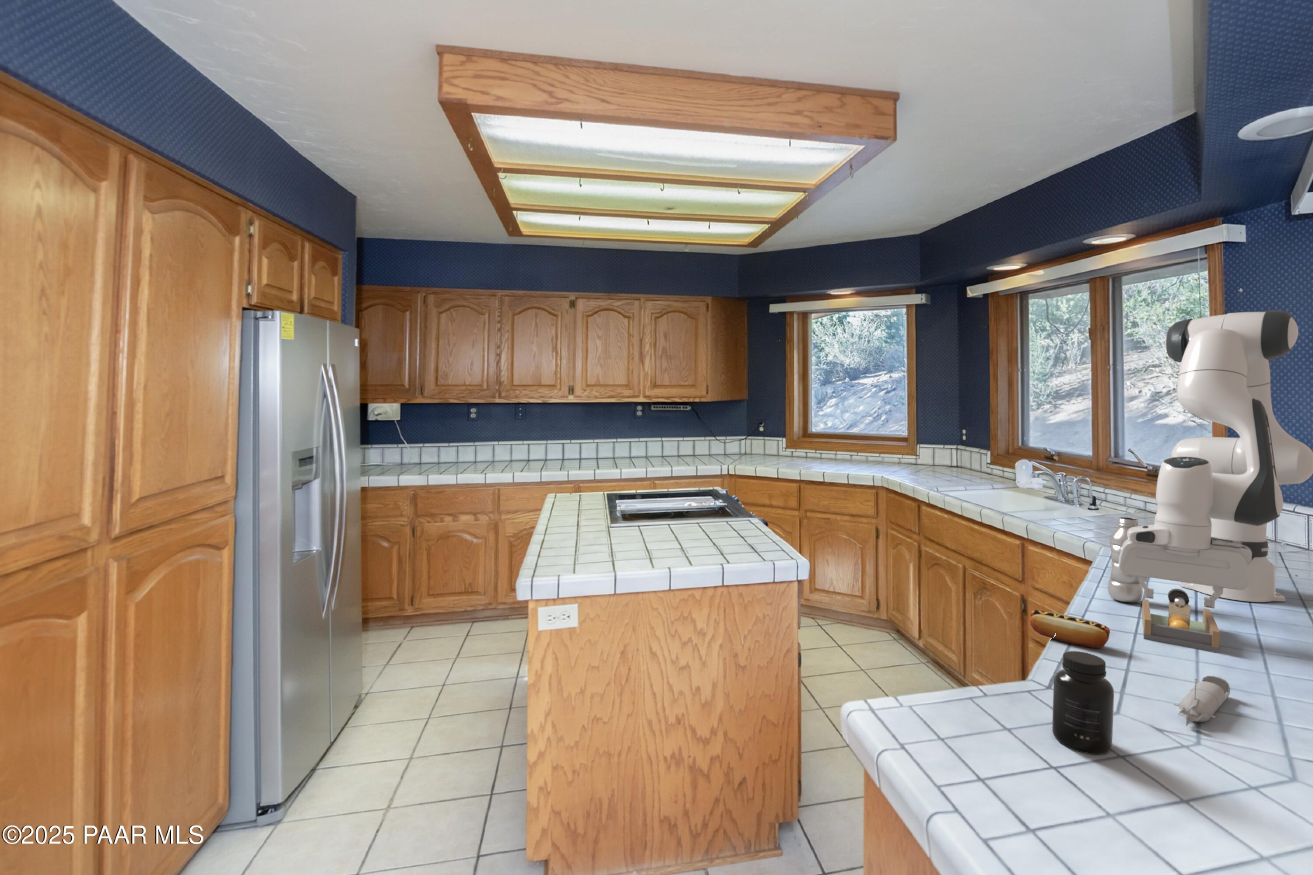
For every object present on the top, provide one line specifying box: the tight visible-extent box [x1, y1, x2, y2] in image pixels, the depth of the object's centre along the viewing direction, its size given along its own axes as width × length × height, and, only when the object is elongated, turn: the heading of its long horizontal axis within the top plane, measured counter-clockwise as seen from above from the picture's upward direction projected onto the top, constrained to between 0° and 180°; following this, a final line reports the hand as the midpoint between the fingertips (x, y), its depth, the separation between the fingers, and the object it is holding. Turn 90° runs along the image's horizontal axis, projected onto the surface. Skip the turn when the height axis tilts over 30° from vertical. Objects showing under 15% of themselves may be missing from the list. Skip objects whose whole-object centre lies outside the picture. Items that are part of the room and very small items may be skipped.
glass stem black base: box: [1167, 588, 1192, 628], centre depth 122 cm, size 6×3×7 cm, turn 142°
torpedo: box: [1173, 675, 1231, 727], centre depth 91 cm, size 18×5×6 cm, turn 126°
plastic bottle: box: [1107, 516, 1144, 603], centre depth 142 cm, size 6×7×20 cm
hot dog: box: [1029, 609, 1111, 649], centre depth 118 cm, size 5×13×5 cm, turn 43°
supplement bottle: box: [1051, 650, 1115, 755], centre depth 83 cm, size 7×7×12 cm
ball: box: [1170, 620, 1190, 630], centre depth 119 cm, size 3×3×3 cm
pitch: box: [1141, 598, 1221, 654], centre depth 123 cm, size 16×11×4 cm
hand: (1178, 602), depth 123 cm, fingers open, 8 cm apart
